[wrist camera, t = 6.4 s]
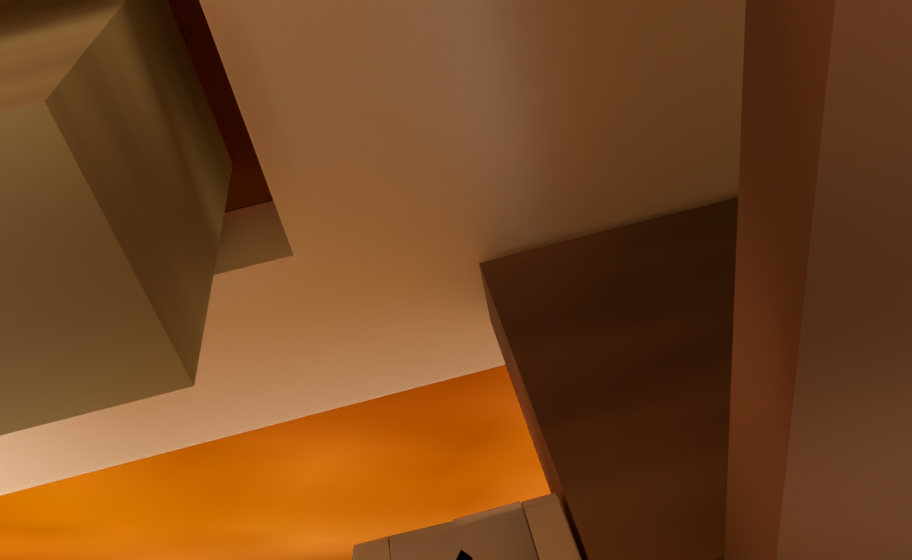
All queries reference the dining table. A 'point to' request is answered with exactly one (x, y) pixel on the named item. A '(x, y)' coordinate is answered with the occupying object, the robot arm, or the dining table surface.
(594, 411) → the cover
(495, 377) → the dining table surface
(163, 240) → the block
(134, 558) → the dining table surface
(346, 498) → the dining table surface
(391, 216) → the puzzle board
